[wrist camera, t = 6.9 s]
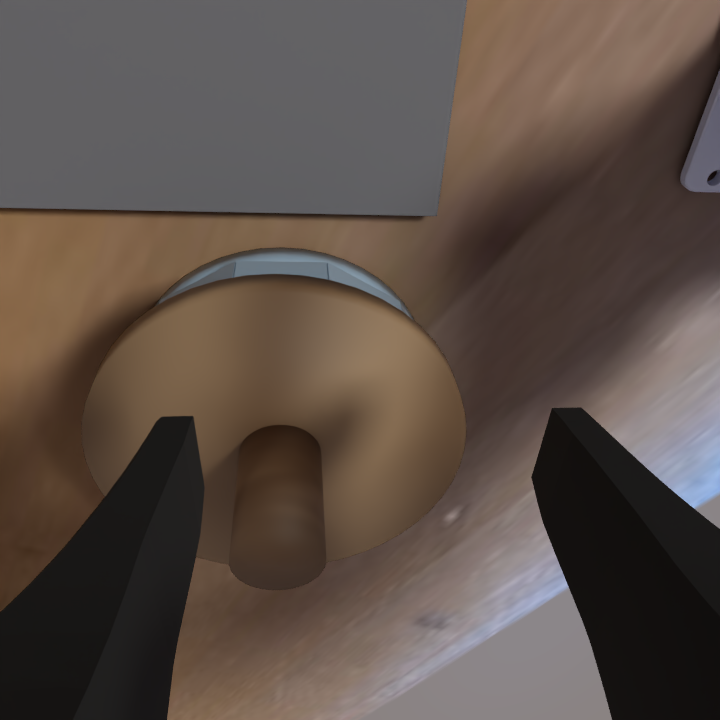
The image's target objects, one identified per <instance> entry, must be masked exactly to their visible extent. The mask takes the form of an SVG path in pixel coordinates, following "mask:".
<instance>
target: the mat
mask: <svg viewBox="0 0 720 720" xmlns="http://www.w3.org/2000/svg"><path fill="white" fill-rule="evenodd" d="M466 4H467V0H0V208H43V209H95V210H147V211H198V212H250V213H302V214H354V215H405V216H437V211H438V204H439V197H440V189H441V182H442V175H443V168H444V161H445V154H446V147H447V139H448V132H449V125H450V118H451V111H452V104H453V97H454V89H455V82H456V75H457V68H458V61H459V54H460V46H461V39H462V32H463V25H464V18H465V11H466Z"/></svg>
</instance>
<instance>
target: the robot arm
mask: <svg viewBox="0 0 720 720" xmlns="http://www.w3.org/2000/svg"><path fill="white" fill-rule="evenodd" d="M716 170H717V174H716V175H715V177H714V178H713V179H712V180H710V181H707V179H708V177H709V175H710V174H711V173H712V172H714V171H716ZM680 181H681V184H682V185H683V186H684V187H685V188H687V189H688V190H689V191H693V192H719V193H720V70H719V73H718V75H717V78H716V81H715V83H714V86H713V89H712V91H711V94H710V97H709V100H708V102H707V105H706V108H705V110H704V113H703V116H702V118H701V121H700V124H699V126H698V129H697V132H696V135H695V137H694V140H693V143H692V145H691V148H690V151H689V153H688V156H687V159H686V161H685V164H684V167H683V170H682V172H681V177H680ZM532 481H533V485H534V489H535V494H536V498H537V502H538V506H539V509H540V513H541V517H542V520H543V524H544V526H545V529H546V531H547V534H548V536H549V539H550V542H551V544H552V547H553V549H554V552H555V554H556V557H557V559H558V562H559V564H560V567H561V569H562V571H563V574H564V576H565V579H566V581H567V584H568V586H569V589H570V591H571V594H572V596H573V598H574V601H575V603H576V606H577V608H578V611H579V613H580V616H581V618H582V621H583V623H584V626H585V629H586V632H587V635H588V637H589V640H590V643H591V646H592V650H593V653H594V657H595V660H596V663H597V667H598V670H599V674H600V677H601V681H602V684H603V687H604V691H605V694H606V698H607V702H608V706H609V709H610V713H611V717H612V720H720V529H719V528H718V527H716V526H715V525H714V524H712V523H711V522H710V521H709V520H707V519H706V518H705V517H704V516H702V515H701V514H700V513H699V512H697V511H696V510H695V509H694V508H693V507H691V506H690V505H689V504H688V503H686V502H685V501H684V500H683V499H681V498H680V497H679V496H678V495H677V494H675V493H674V492H673V491H672V490H671V489H670V488H668V487H667V486H666V485H665V484H664V483H663V482H662V481H660V480H659V479H658V478H657V477H656V476H655V475H654V474H653V473H651V472H650V471H649V470H648V469H647V468H646V467H645V466H644V465H643V464H641V463H640V462H639V461H638V460H637V459H636V458H635V457H634V456H633V455H632V454H631V453H629V452H628V451H627V450H626V449H625V448H624V447H623V446H622V445H621V444H620V443H619V442H618V441H617V440H616V439H615V438H613V437H612V436H611V435H610V434H609V433H608V432H607V431H606V430H605V429H604V428H603V427H602V426H601V425H600V424H599V423H597V422H596V421H595V420H594V419H593V418H592V417H591V416H590V415H589V414H588V413H587V412H585V411H584V410H583V409H582V408H552V410H551V414H550V417H549V420H548V424H547V427H546V430H545V434H544V437H543V440H542V444H541V447H540V450H539V454H538V457H537V461H536V464H535V467H534V471H533V474H532ZM204 490H205V486H204V480H203V473H202V467H201V461H200V454H199V448H198V442H197V436H196V429H195V423H194V417H193V416H165V417H161V418H159V419H158V420H157V421H156V423H155V424H154V426H153V428H152V429H151V431H150V432H149V434H148V436H147V437H146V439H145V440H144V442H143V443H142V445H141V447H140V448H139V450H138V451H137V453H136V454H135V456H134V457H133V459H132V460H131V461H130V463H129V464H128V466H127V467H126V469H125V470H124V472H123V473H122V474H121V476H120V477H119V478H118V480H117V481H116V483H115V484H114V485H113V487H112V488H111V489H110V491H109V492H108V493H107V495H106V496H105V498H104V499H103V500H102V502H101V503H100V504H99V505H98V507H97V508H96V509H95V510H94V512H93V513H92V514H91V515H90V516H89V518H88V519H87V520H86V521H85V523H84V524H83V525H82V526H81V527H80V529H79V530H78V531H77V532H76V534H75V535H74V536H73V537H72V538H71V540H70V541H69V542H68V543H67V544H66V545H65V547H64V548H63V549H62V550H61V551H60V552H59V553H58V554H57V556H56V557H55V558H54V559H53V560H52V561H51V562H50V563H49V564H48V565H47V566H46V567H45V568H44V570H43V571H42V572H41V573H40V574H39V575H38V576H37V577H36V578H35V579H34V580H33V581H32V582H31V583H30V584H29V585H28V586H27V587H26V588H25V589H24V590H23V591H22V592H21V593H20V594H19V595H18V596H17V597H16V598H15V599H14V600H13V601H12V602H11V603H10V604H9V605H7V606H6V607H5V608H4V609H3V610H2V611H1V612H0V720H167V714H168V706H169V697H170V689H171V680H172V672H173V664H174V659H175V653H176V647H177V641H178V637H179V632H180V628H181V623H182V618H183V614H184V609H185V604H186V600H187V595H188V591H189V586H190V581H191V577H192V572H193V567H194V563H195V558H196V553H197V549H198V544H199V539H200V533H201V523H202V513H203V502H204Z"/></svg>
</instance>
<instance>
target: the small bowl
mask: <svg viewBox="0 0 720 720" xmlns="http://www.w3.org/2000/svg"><path fill="white" fill-rule="evenodd" d="M261 274H289V275H305V276H310V277H316V278H322V279H327V280H332V281H336V282H339V283H342V284H346V285H349V286H352V287H356V288H359V289H361V290H363V291H365V292H368V293H370V294H372V295H375V296H377V297H379V298H381V299H383V300H385V301H386V302H388V303H390V304H391V305H393V306H395V307H396V308H398V309H400V310H401V311H403V312H404V313H405V314H406V315H408V316H409V317H410V318H411V319H413V316H412V315H411V313H410V312H409V310H408V309H407V307H406V306H405V304H404V303H403V301H402V300H401V299H400V298H399V297H398V296H397V295H396V294H395V293H394V291H393V290H392V289H391V288H389V287H388V286H387V285H386V284H385V283H383V282H382V281H381V280H380V279H379V278H377V277H376V276H374V275H373V274H371V273H369V272H368V271H366V270H365V269H363V268H361V267H359V266H357V265H355V264H353V263H351V262H348V261H346V260H344V259H341V258H338V257H335V256H332V255H329V254H326V253H321V252H316V251H311V250H306V249H296V248H261V249H255V250H249V251H242V252H238V253H234V254H231V255H228V256H224V257H221V258H218V259H216V260H214V261H211V262H209V263H207V264H205V265H202V266H200V267H199V268H197V269H195V270H194V271H192V272H190V273H189V274H187V275H185V276H184V277H183V278H181V279H180V280H179V281H178V282H177V283H175V284H174V285H173V286H172V287H171V288H169V290H168V291H167V292H166V293H165V294H164V295H163V296H162V297H161V298H160V299H159V301H158V302H157V303H156V305H155V306H157V305H158V304H160V303H162V302H163V301H165V300H166V299H169V298H171V297H173V296H175V295H177V294H180V293H182V292H184V291H186V290H189V289H191V288H194V287H197V286H201V285H204V284H207V283H211V282H214V281H217V280H222V279H228V278H234V277H239V276H245V275H261ZM155 306H154V307H155ZM413 320H414V319H413Z"/></svg>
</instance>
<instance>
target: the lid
mask: <svg viewBox="0 0 720 720" xmlns="http://www.w3.org/2000/svg"><path fill="white" fill-rule="evenodd" d="M165 416H193V417H194V423H195V429H196V436H197V442H198V448H199V454H200V461H201V467H202V473H203V480H204V486H205V490H204V502H203V513H202V523H201V533H200V539H199V544H198V549H197V553H196V557H199V558H202V559H206V560H210V561H214V562H219V563H223V564H229V566H230V569H231V571H232V573H233V574H234V575H235V576H236V577H237V578H238V579H239V580H240V581H242V582H244V583H245V584H248V585H250V586H253V587H256V588H260V589H266V590H285V589H291V588H296V587H299V586H302V585H304V584H307V583H309V582H310V581H312V580H314V579H315V578H316V577H318V576H319V575H320V574H321V572H322V571H323V569H324V568H325V565H326V563H328V562H332V561H336V560H340V559H344V558H347V557H350V556H353V555H356V554H359V553H362V552H365V551H367V550H370V549H372V548H374V547H376V546H379V545H381V544H383V543H385V542H387V541H389V540H390V539H392V538H394V537H396V536H397V535H399V534H401V533H402V532H404V531H405V530H407V529H408V528H409V527H411V526H412V525H414V524H415V523H416V522H418V521H419V520H420V519H421V518H422V517H423V516H424V515H425V514H427V513H428V512H429V511H430V510H431V509H432V508H433V507H434V505H435V504H436V503H437V502H438V501H439V500H440V499H441V498H442V496H443V495H444V493H445V492H446V490H447V489H448V487H449V486H450V484H451V483H452V481H453V479H454V477H455V475H456V473H457V471H458V469H459V466H460V463H461V460H462V456H463V453H464V449H465V440H466V418H465V411H464V407H463V403H462V399H461V396H460V393H459V389H458V386H457V383H456V380H455V377H454V375H453V373H452V370H451V368H450V366H449V364H448V361H447V359H446V357H445V356H444V354H443V353H442V351H441V350H440V348H439V347H438V345H437V344H436V342H435V341H434V340H433V339H432V338H431V337H430V336H429V335H428V334H427V332H426V331H425V330H424V329H423V328H422V327H421V326H420V325H419V324H418V323H416V322H415V321H414V320H413V319H411V318H410V317H409V316H408V315H406V314H405V313H404V312H403V311H401V310H400V309H398V308H396V307H395V306H393V305H391V304H390V303H388V302H386V301H385V300H383V299H381V298H379V297H377V296H375V295H372V294H370V293H368V292H365V291H363V290H361V289H359V288H356V287H352V286H349V285H346V284H342V283H339V282H336V281H332V280H327V279H322V278H316V277H310V276H305V275H289V274H261V275H245V276H239V277H234V278H228V279H222V280H217V281H214V282H211V283H207V284H204V285H201V286H197V287H194V288H191V289H189V290H186V291H184V292H182V293H180V294H177V295H175V296H173V297H171V298H169V299H166V300H165V301H163V302H162V303H160V304H158V305H157V306H155V307H154V308H152V309H150V310H149V311H147V312H145V313H144V314H143V315H142V316H141V317H139V318H138V319H137V320H136V321H135V322H133V323H132V324H131V325H130V326H129V327H128V328H126V330H125V331H124V332H123V333H122V334H121V335H120V337H119V338H118V339H117V340H116V341H115V342H114V343H113V345H112V346H111V348H110V349H109V351H108V353H107V354H106V356H105V357H104V359H103V361H102V362H101V364H100V367H99V369H98V372H97V374H96V377H95V379H94V382H93V384H92V387H91V389H90V392H89V395H88V397H87V400H86V402H85V406H84V412H83V417H82V445H83V450H84V455H85V460H86V463H87V465H88V468H89V470H90V473H91V475H92V478H93V479H94V481H95V482H96V484H97V486H98V487H99V489H100V491H101V492H102V494H103V495H104V496H106V495H107V493H108V492H109V491H110V489H111V488H112V487H113V485H114V484H115V483H116V481H117V480H118V478H119V477H120V476H121V474H122V473H123V472H124V470H125V469H126V467H127V466H128V464H129V463H130V461H131V460H132V459H133V457H134V456H135V454H136V453H137V451H138V450H139V448H140V447H141V445H142V443H143V442H144V440H145V439H146V437H147V436H148V434H149V432H150V431H151V429H152V428H153V426H154V424H155V423H156V421H157V420H158V419H159V418H161V417H165Z"/></svg>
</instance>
